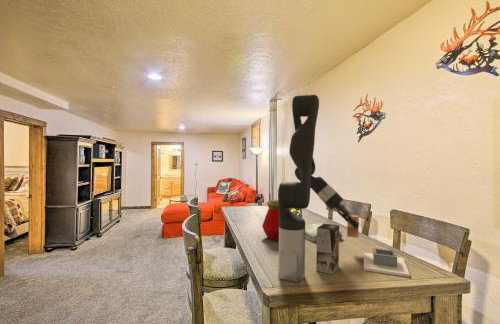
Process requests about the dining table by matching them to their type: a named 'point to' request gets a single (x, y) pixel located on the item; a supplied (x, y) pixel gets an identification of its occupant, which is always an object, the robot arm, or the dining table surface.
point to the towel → (314, 232)
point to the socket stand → (385, 262)
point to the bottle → (272, 221)
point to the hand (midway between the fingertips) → (357, 225)
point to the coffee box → (327, 248)
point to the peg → (350, 229)
